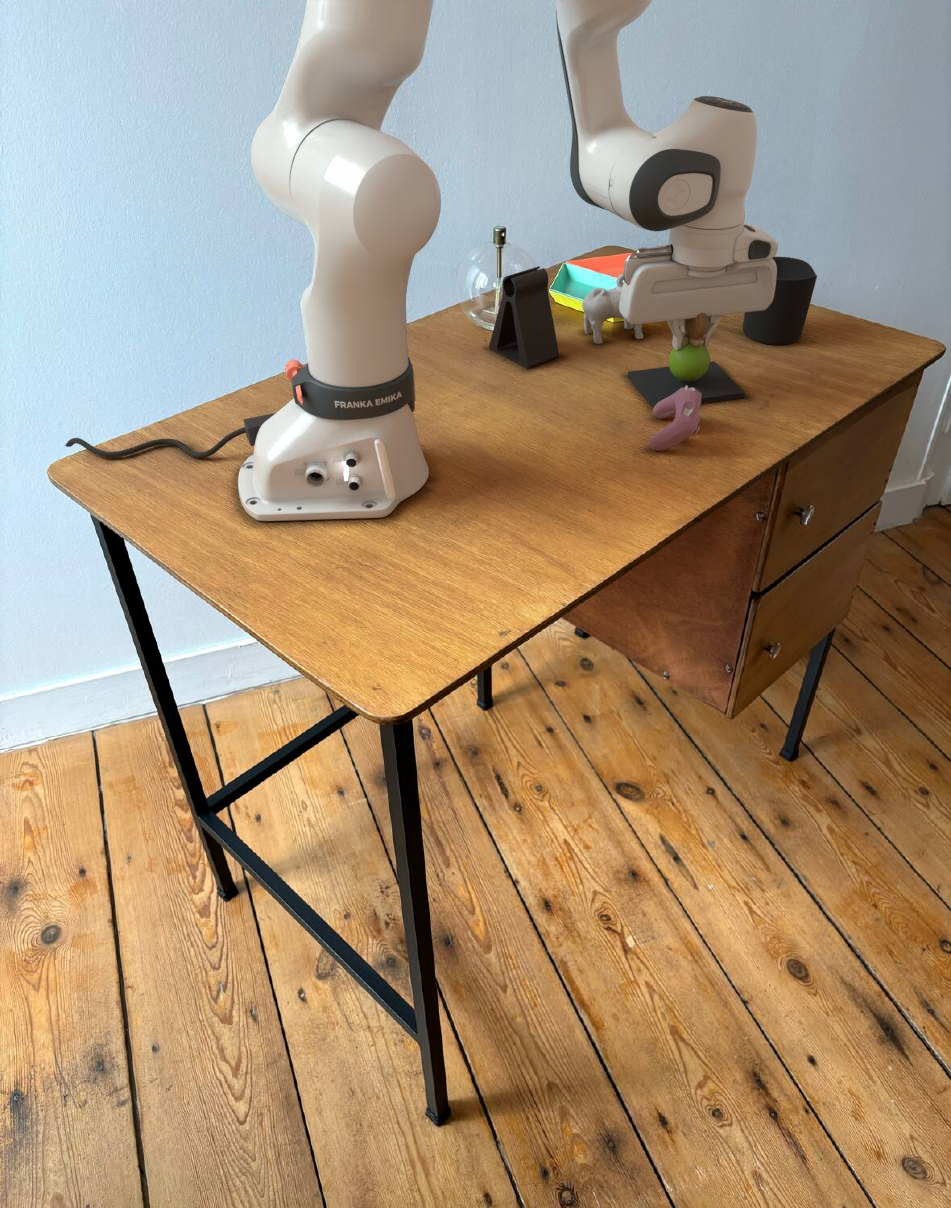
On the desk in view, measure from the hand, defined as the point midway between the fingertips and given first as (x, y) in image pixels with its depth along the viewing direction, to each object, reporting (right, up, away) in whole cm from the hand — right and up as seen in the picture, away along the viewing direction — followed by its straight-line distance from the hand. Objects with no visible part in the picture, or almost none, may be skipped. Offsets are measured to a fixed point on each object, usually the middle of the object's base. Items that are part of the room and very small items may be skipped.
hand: (690, 346), depth 128 cm
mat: (0, -5, +4) cm, 6 cm away
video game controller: (-4, -13, -6) cm, 15 cm away
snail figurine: (0, -4, +3) cm, 5 cm away
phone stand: (-22, +2, +13) cm, 25 cm away
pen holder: (+16, +6, +17) cm, 24 cm away
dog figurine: (-7, +7, +18) cm, 20 cm away
